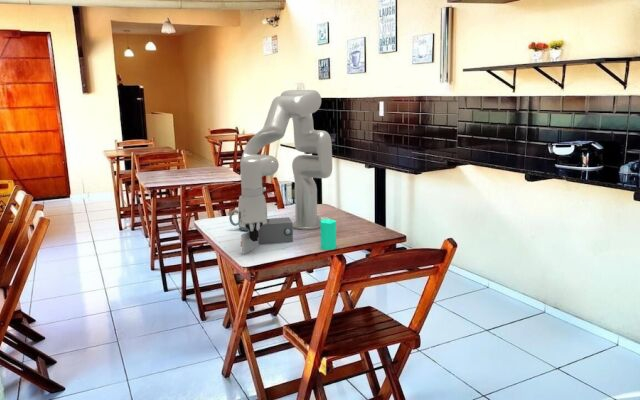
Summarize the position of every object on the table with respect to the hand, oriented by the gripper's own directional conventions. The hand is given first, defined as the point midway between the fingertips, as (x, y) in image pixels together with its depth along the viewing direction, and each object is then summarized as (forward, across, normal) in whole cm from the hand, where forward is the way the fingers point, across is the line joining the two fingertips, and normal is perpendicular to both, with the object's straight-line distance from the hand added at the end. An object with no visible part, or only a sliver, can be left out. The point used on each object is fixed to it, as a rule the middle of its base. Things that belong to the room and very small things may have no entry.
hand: (254, 240), depth 195 cm
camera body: (+5, -12, -11) cm, 18 cm away
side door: (+4, 0, -4) cm, 6 cm away
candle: (+5, -27, +8) cm, 29 cm away
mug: (+5, -9, -33) cm, 35 cm away
